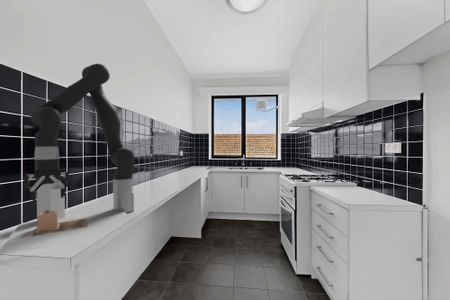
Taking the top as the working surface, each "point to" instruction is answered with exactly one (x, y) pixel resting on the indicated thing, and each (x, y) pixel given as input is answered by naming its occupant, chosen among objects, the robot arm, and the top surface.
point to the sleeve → (47, 220)
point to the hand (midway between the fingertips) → (48, 199)
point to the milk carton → (50, 199)
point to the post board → (63, 225)
